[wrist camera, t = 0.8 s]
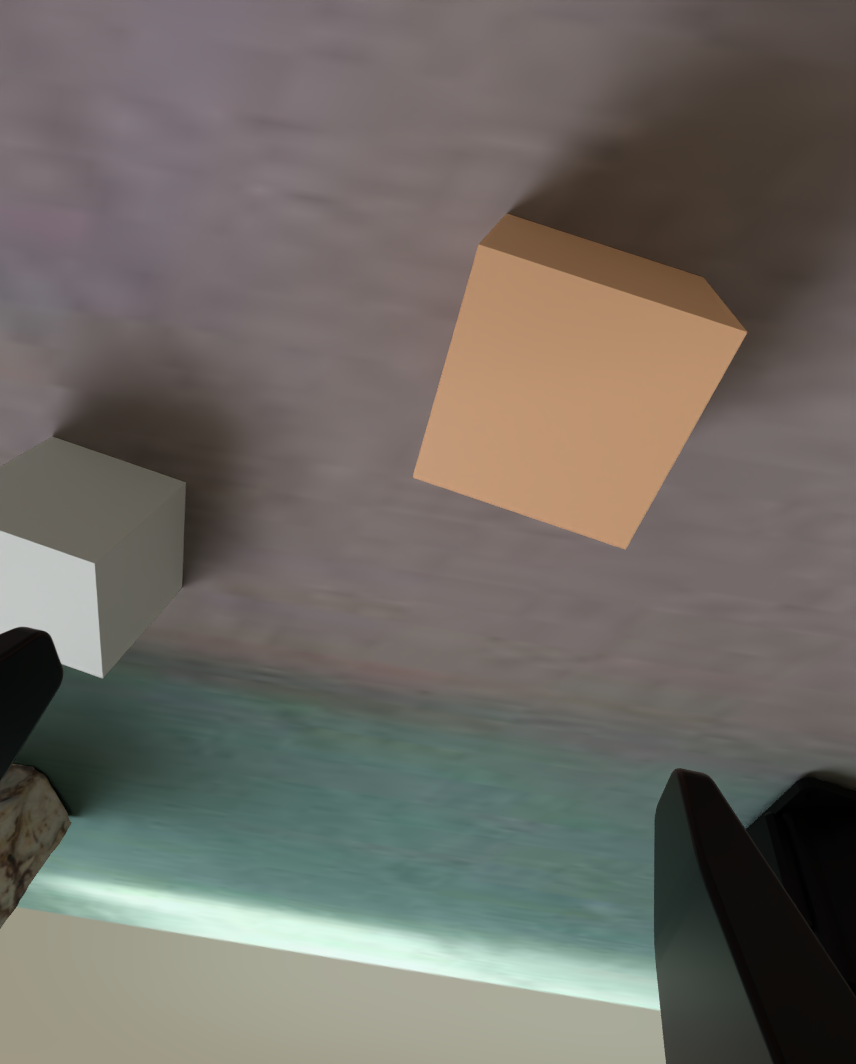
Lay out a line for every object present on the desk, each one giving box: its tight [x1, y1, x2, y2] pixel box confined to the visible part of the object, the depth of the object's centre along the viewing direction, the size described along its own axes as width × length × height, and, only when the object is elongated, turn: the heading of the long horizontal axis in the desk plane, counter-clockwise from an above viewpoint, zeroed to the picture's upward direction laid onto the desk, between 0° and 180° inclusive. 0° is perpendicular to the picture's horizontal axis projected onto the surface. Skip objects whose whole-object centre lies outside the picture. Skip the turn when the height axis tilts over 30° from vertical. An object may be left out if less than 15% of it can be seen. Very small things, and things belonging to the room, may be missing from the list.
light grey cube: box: [0, 437, 186, 678], centre depth 21 cm, size 5×5×5 cm
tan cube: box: [413, 214, 747, 549], centre depth 15 cm, size 5×5×5 cm
